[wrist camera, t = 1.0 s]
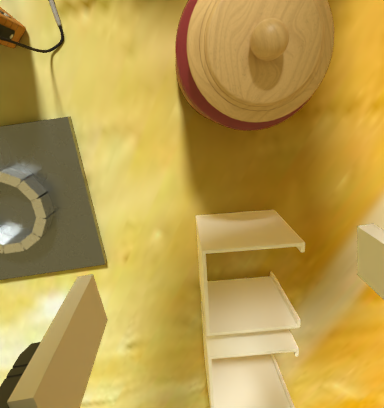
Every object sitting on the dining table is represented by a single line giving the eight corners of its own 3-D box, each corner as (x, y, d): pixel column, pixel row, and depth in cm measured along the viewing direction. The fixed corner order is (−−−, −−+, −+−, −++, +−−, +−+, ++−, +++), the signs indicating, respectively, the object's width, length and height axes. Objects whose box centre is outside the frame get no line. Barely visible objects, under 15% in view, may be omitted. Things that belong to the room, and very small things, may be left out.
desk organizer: (195, 214, 43) (202, 250, 32) (273, 208, 43) (305, 242, 32) (204, 357, 50) (211, 423, 40) (270, 351, 51) (295, 415, 40)
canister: (239, 143, 40) (285, 172, 23) (154, 80, 37) (136, 61, 20) (305, 53, 37) (414, 10, 20) (219, -23, 34) (261, -147, 17)
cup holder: (-93, 140, 37) (-119, 143, 34) (70, 116, 38) (60, 117, 34) (-33, 281, 44) (-50, 295, 40) (106, 260, 44) (101, 273, 40)
